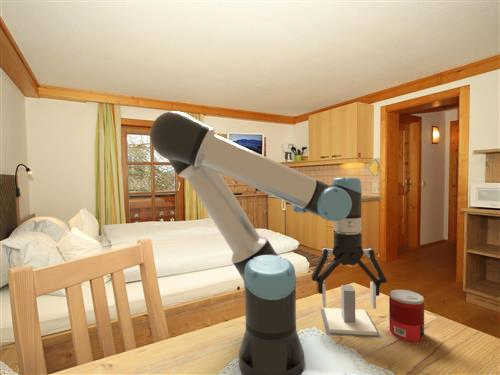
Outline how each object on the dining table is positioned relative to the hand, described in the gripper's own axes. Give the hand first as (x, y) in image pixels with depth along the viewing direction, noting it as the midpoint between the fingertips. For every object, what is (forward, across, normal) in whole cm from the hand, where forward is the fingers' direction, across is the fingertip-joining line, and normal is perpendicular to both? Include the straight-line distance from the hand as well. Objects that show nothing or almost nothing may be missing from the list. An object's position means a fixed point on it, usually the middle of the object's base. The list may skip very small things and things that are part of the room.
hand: (348, 305), depth 78 cm
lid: (+5, 0, 0) cm, 5 cm away
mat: (+6, 0, 0) cm, 6 cm away
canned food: (+6, +14, -4) cm, 16 cm away
